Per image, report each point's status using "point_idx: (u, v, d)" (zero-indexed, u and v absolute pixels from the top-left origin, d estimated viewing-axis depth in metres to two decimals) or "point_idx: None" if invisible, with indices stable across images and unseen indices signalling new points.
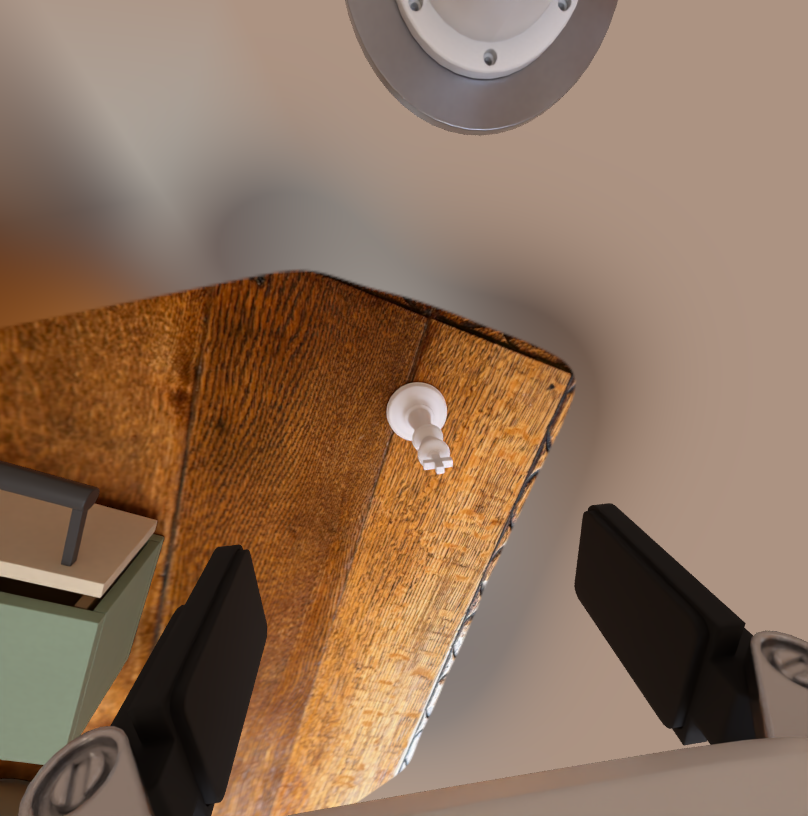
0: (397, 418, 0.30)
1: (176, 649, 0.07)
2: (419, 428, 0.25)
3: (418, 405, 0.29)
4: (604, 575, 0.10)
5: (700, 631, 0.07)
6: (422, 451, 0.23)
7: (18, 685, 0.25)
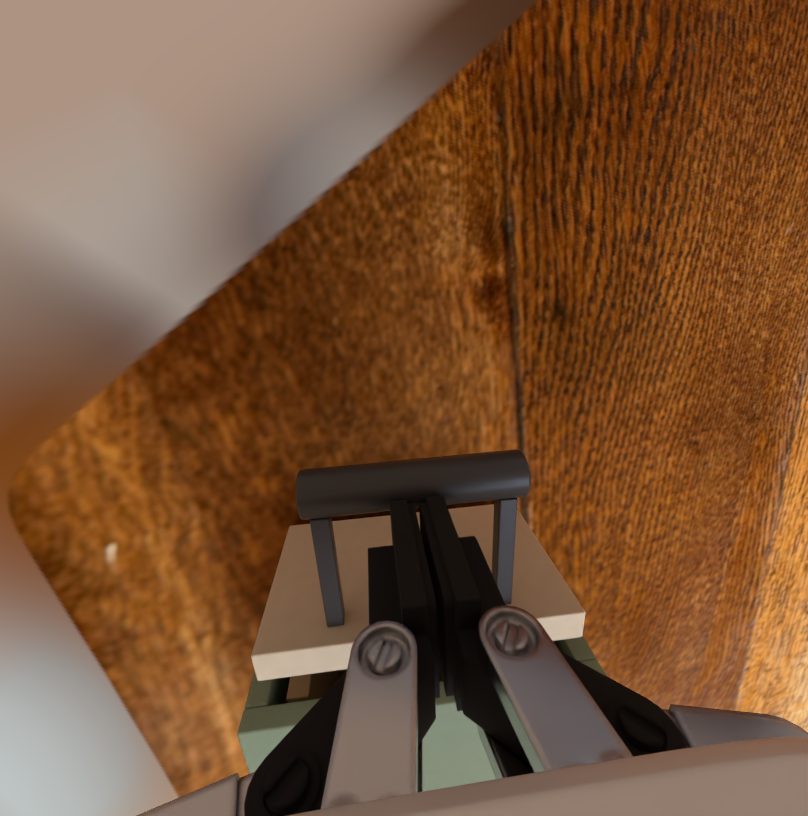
0: None
1: (410, 569, 0.08)
2: None
3: None
4: None
5: (449, 606, 0.08)
6: None
7: None
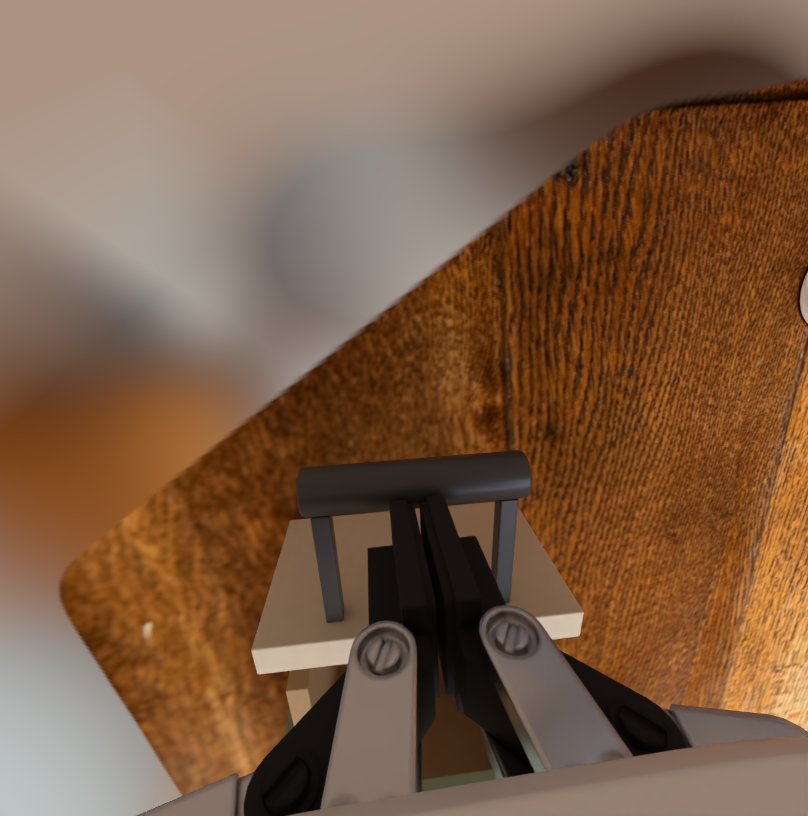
0: None
1: (409, 569, 0.08)
2: None
3: None
4: (426, 560, 0.10)
5: (450, 605, 0.08)
6: None
7: None
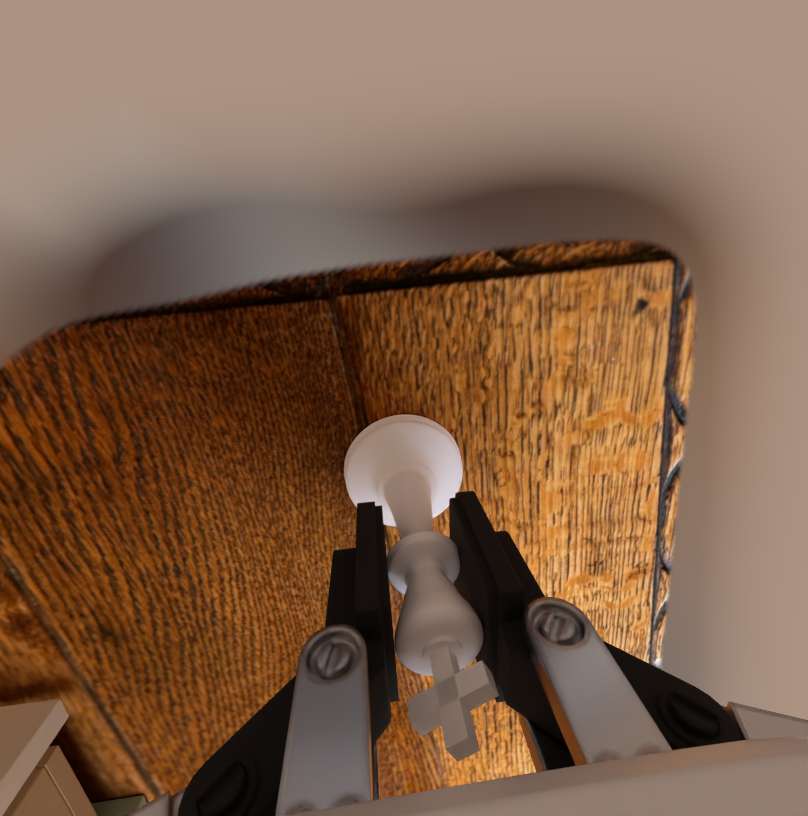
0: None
1: (368, 572, 0.08)
2: (391, 554, 0.10)
3: (392, 469, 0.14)
4: (458, 555, 0.10)
5: (493, 597, 0.08)
6: (404, 653, 0.08)
7: None
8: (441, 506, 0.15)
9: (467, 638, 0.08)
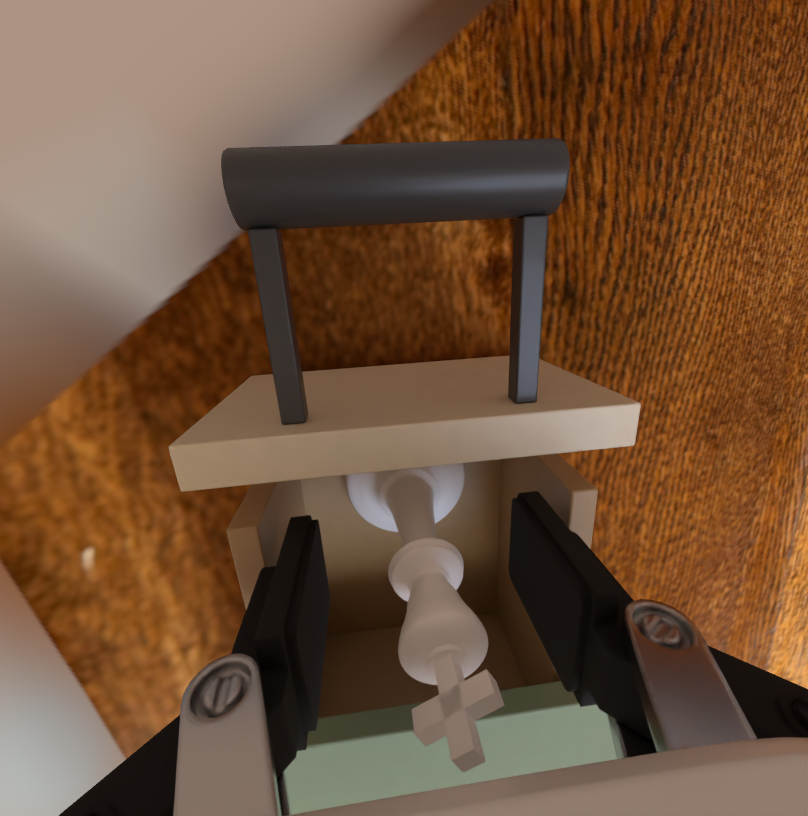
0: (372, 509, 0.15)
1: (280, 595, 0.08)
2: (394, 561, 0.10)
3: (393, 474, 0.14)
4: (526, 556, 0.10)
5: (585, 600, 0.08)
6: (408, 661, 0.08)
7: None
8: (443, 511, 0.15)
9: (471, 646, 0.08)
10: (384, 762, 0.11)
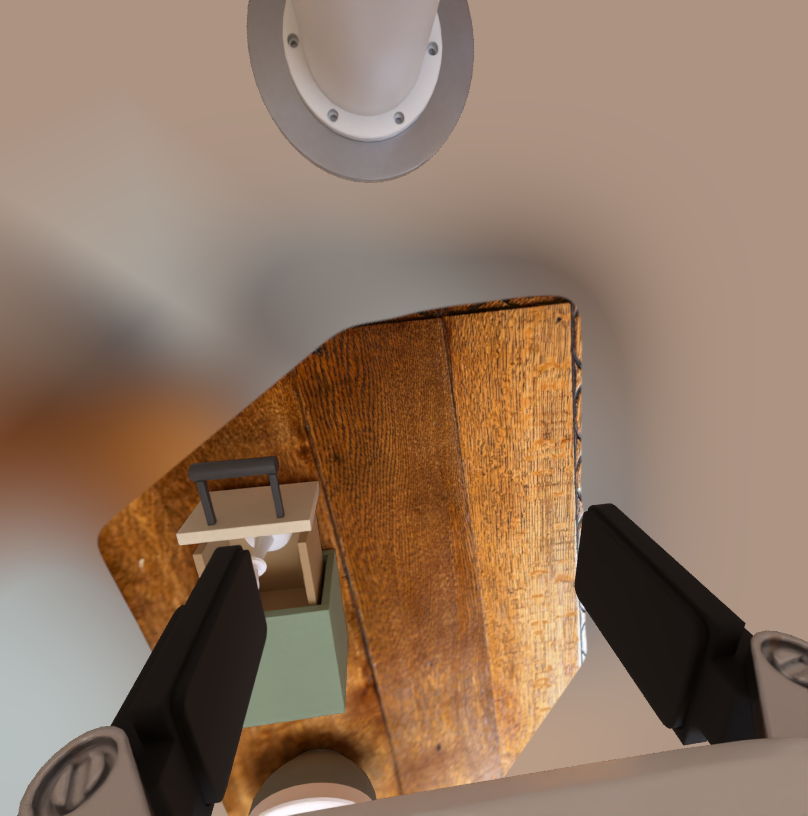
0: (253, 543, 0.39)
1: (176, 649, 0.07)
2: None
3: None
4: (604, 575, 0.10)
5: (700, 631, 0.07)
6: None
7: (299, 665, 0.38)
8: (282, 543, 0.39)
9: None
10: None
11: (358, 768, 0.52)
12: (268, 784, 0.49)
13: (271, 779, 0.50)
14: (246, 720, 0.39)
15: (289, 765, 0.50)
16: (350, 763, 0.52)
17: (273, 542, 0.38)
